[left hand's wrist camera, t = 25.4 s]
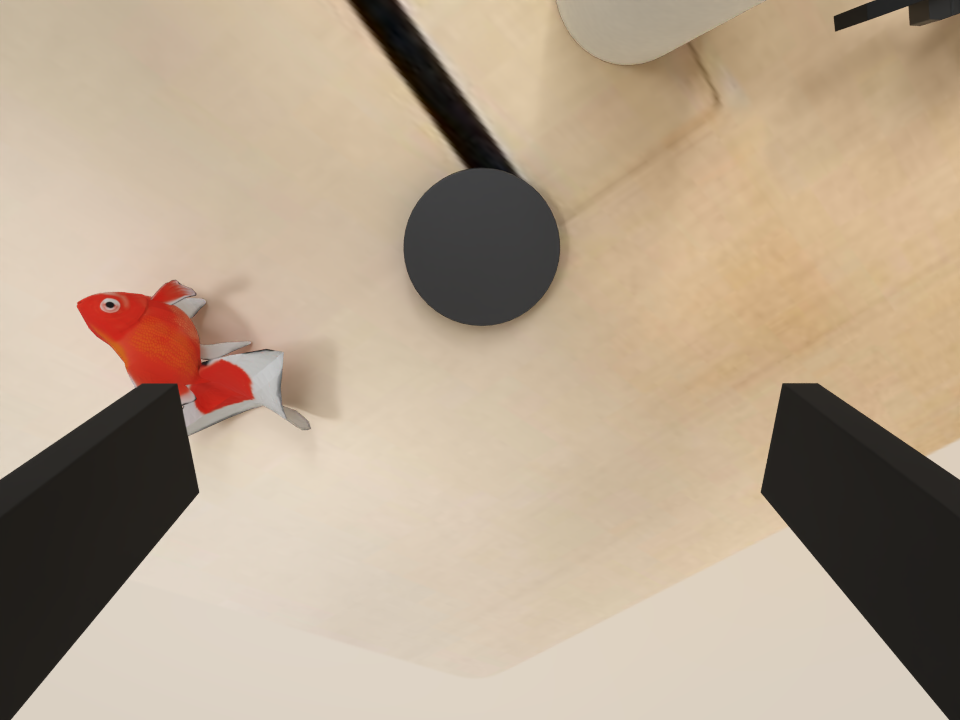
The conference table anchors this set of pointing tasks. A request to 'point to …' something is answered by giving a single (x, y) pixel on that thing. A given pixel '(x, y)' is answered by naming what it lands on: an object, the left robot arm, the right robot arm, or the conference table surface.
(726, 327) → the conference table surface
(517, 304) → the lid
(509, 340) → the conference table surface
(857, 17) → the right robot arm
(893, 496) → the left robot arm
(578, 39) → the jar
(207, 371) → the fish
